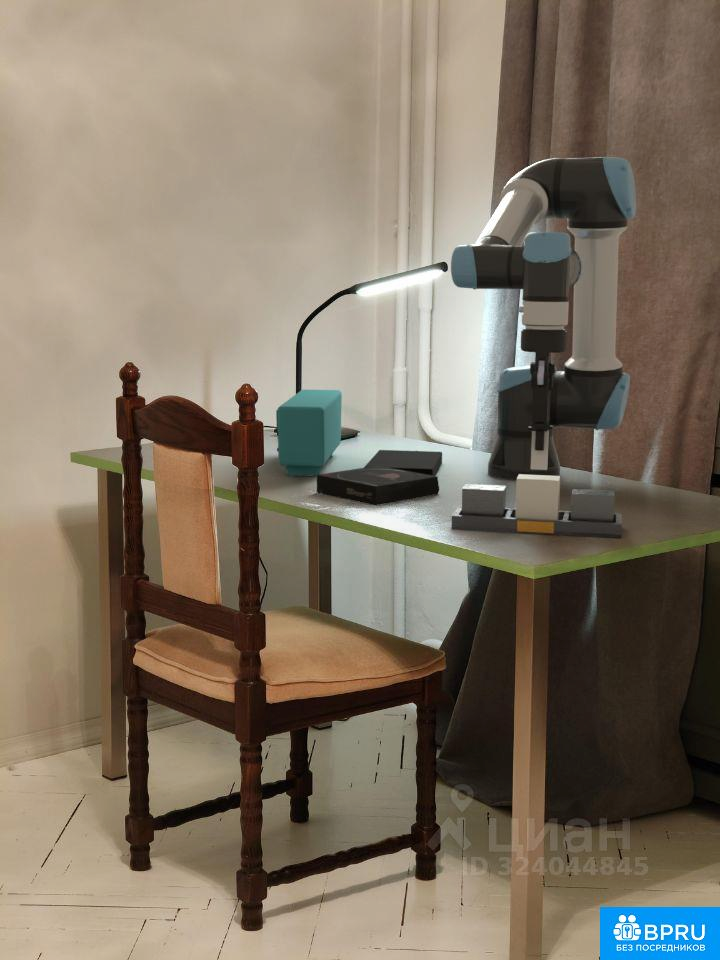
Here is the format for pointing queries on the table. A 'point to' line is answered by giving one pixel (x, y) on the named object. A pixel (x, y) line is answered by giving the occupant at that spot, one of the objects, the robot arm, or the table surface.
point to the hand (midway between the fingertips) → (539, 468)
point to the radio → (308, 430)
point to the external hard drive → (408, 461)
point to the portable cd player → (377, 485)
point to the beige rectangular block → (537, 497)
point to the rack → (585, 519)
